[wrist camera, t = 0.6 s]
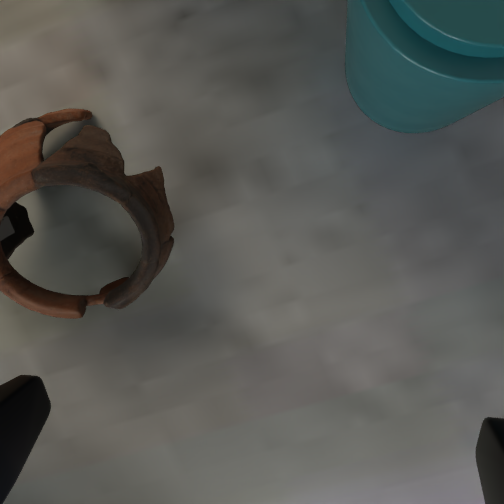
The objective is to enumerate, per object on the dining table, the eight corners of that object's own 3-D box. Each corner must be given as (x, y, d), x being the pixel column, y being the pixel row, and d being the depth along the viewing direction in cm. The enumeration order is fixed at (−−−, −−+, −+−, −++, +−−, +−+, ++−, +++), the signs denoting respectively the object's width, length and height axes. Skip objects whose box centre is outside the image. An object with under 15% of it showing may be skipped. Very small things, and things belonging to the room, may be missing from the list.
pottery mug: (134, 71, 21) (120, 103, 14) (198, 223, 26) (211, 301, 19) (-85, 148, 21) (-207, 218, 14) (21, 286, 26) (-30, 387, 19)
